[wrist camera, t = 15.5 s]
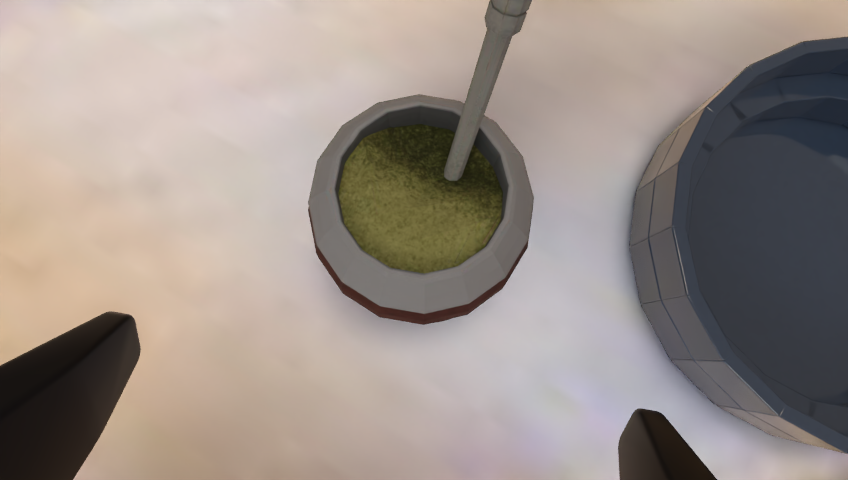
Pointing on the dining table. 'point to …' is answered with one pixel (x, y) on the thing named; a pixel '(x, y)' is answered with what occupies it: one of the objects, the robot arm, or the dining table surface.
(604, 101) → the dining table surface
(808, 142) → the large metal bowl
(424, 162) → the mate gourd
